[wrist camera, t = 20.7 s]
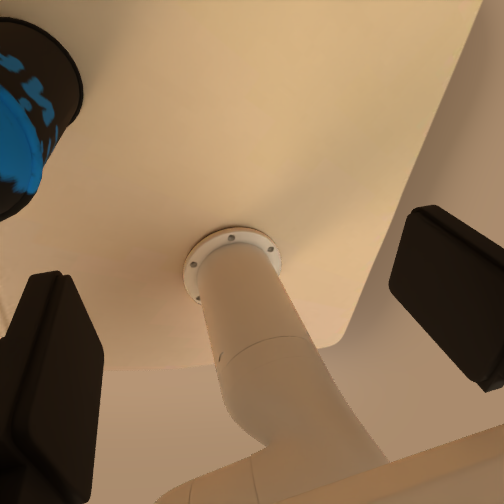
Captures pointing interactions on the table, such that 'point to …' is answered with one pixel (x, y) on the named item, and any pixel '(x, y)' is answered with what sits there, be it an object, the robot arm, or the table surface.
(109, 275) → the table surface
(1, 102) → the aerosol can
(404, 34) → the table surface
